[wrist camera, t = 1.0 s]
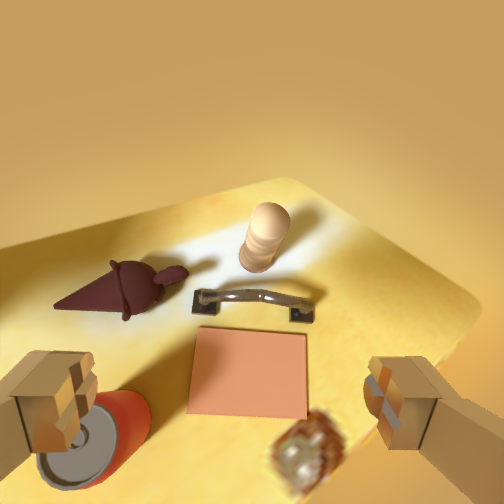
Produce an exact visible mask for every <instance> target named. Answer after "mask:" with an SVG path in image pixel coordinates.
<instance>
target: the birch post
mask: <svg viewBox="0 0 504 504" xmlns="http://www.w3.org/2000/svg"><path fill="white" fill-rule="evenodd" d="M289 226H290V217H289V215H288V213H287V211H286V210H285V209H284V208H283V207H281V206H280V205H278V204H275V203H262V204H260V205H258V206H257V207H256V208H255V209H254V210H253V212H252V215H251V219H250V223H249V227H248V230H247V234H246V238H245V241H244V244H243V245H242V246H241V248H240V252H239V261H240V263H241V265H242V266H243V267H244V268H245V269H246V270H247V271H249V272H252V273H262V272H264V271H266V270H267V269H269V267H270V266H271V264H272V263H273V260H274V254H275V253H276V251H277V249H278V247H279V245H280V243H281V241H282V240H283V238H284V236H285V234H286V232H287V230H288V228H289Z"/></svg>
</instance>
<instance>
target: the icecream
mask: <svg viewBox="0 0 504 504" xmlns="http://www.w3.org/2000/svg"><path fill="white" fill-rule="evenodd" d="M110 265H111V267H112V268H113V270H112V271H110V272H109V273H107V274H105V275H104V276H102V277H100V278H98V279H97V280H95V281H93V282H91V283H90V284H88V285H86V286H85V287H83V288H81V289H79V290H78V291H76V292H74V293H72V294H71V295H69V296H67V297H65V298H64V299H62V300H60V301H59V302H57V303H55V304H54V305H53V306H54V309H59V310H82V311H104V312H123V313H122V320H123V321H127V320H129V319H130V317H131V315H137V314H139V313H142V312H144V311H146V310H147V309H148V308H150V307H151V306H152V305H153V304H154V303H155V301H160V300H162V298H163V296H164V294H165V288H164V286H168V285H169V284H174V283H177V282H179V281H182V280H184V279H185V278H186V277H187V276H188V275H189V272H188V270H187V269H185V268H184V267H183V266H179V265H177V266H171V267H168V268H166V269H165V270H163V271H160V272H159V273H156V271H155V270H154V269H153V268H152V267H151V266H149V265H147V264H145V263H143V262H138V261H122V262H120V263H117V262H116V261H114V260H111V261H110Z"/></svg>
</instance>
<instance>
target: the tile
mask: <svg viewBox="0 0 504 504" xmlns="http://www.w3.org/2000/svg"><path fill="white" fill-rule="evenodd" d="M187 414H203V415H225V416H246V417H268V418H289V419H307V396H306V344H305V336H304V335H291V334H278V333H266V332H253V331H240V330H227V329H214V328H201V327H198V329H197V337H196V345H195V353H194V361H193V369H192V377H191V384H190V392H189V400H188V408H187Z"/></svg>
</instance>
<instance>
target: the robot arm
mask: <svg viewBox="0 0 504 504" xmlns="http://www.w3.org/2000/svg"><path fill="white" fill-rule="evenodd" d="M94 364H95V363H94V358H93V354H91V353H90V352H73V351H37V350H35V351H32V352H29V353H28V354H27V355H26V356H25V357H24V358H23V359H22V360H21V361H20V362H19V363H18V364H17V365H16V366H15V367H14V368H13V369H12V370H11V371H10V372H9V373H8V374H7V375H6V376H5V377H4V378H3V379H2V380H1V381H0V481H1V480H3V479H4V478H5V477H6V476H7V475H8V474H10V473H11V472H12V471H13V470H14V469H15V468H17V467H18V466H19V465H20V464H21V463H23V462H24V461H25V460H26V459H27V458H28V457H30V456H31V454H30V453H54V452H67V451H68V450H69V448H70V446H71V444H72V442H73V441H74V439H75V437H76V435H77V433H78V432H79V430H80V428H81V426H80V421H79V420H80V419H81V418H82V417H84V416H85V415H86V414H88V413H89V412H90V410H91V408H92V406H93V404H94V401H95V397H96V394H97V384H98V383H97V376H96V375H95V374H93V373H92V372H91V371H90V370H91V369H92V367H93V366H94ZM368 368H369V370H370V372H371V374H370V375H369V376H368V377H367V378H366V379H365V382H364V387H363V391H364V399H365V403H366V406H367V408H368V410H369V412H370V413H371V414H372V415H373V416H374V417H376V418H377V419H378V424H377V428H378V430H379V432H380V434H381V436H382V438H383V440H384V442H385V444H386V446H387V448H388V449H389V450H391V449H392V450H419V453H421V454H422V455H423V456H424V457H425V458H426V459H427V460H428V461H429V462H430V463H431V464H432V465H433V466H435V467H436V468H437V469H438V470H439V471H440V472H441V473H442V474H443V475H444V476H445V477H446V478H447V479H449V480H450V481H451V482H452V483H453V484H454V485H455V486H456V487H457V488H458V489H459V490H460V491H461V492H463V493H464V494H465V495H466V496H467V497H468V498H469V499H470V500H471V501H472V502H473V503H474V504H504V419H502V418H500V417H498V416H497V415H495V414H493V413H492V412H490V411H488V410H486V409H485V408H483V407H481V406H479V405H477V404H476V403H474V402H472V401H471V400H469V399H462V398H461V397H460V396H459V395H458V393H457V392H456V391H455V390H454V389H453V388H452V387H451V386H450V385H449V383H448V382H447V381H446V380H445V379H444V378H443V377H442V376H441V375H440V373H439V372H438V371H437V370H436V369H435V368H434V367H433V365H432V364H431V363H430V362H429V361H428V360H427V359H426V358H424V357H422V356H405V357H388V356H372V358H371V359H370V361H369V365H368Z"/></svg>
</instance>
